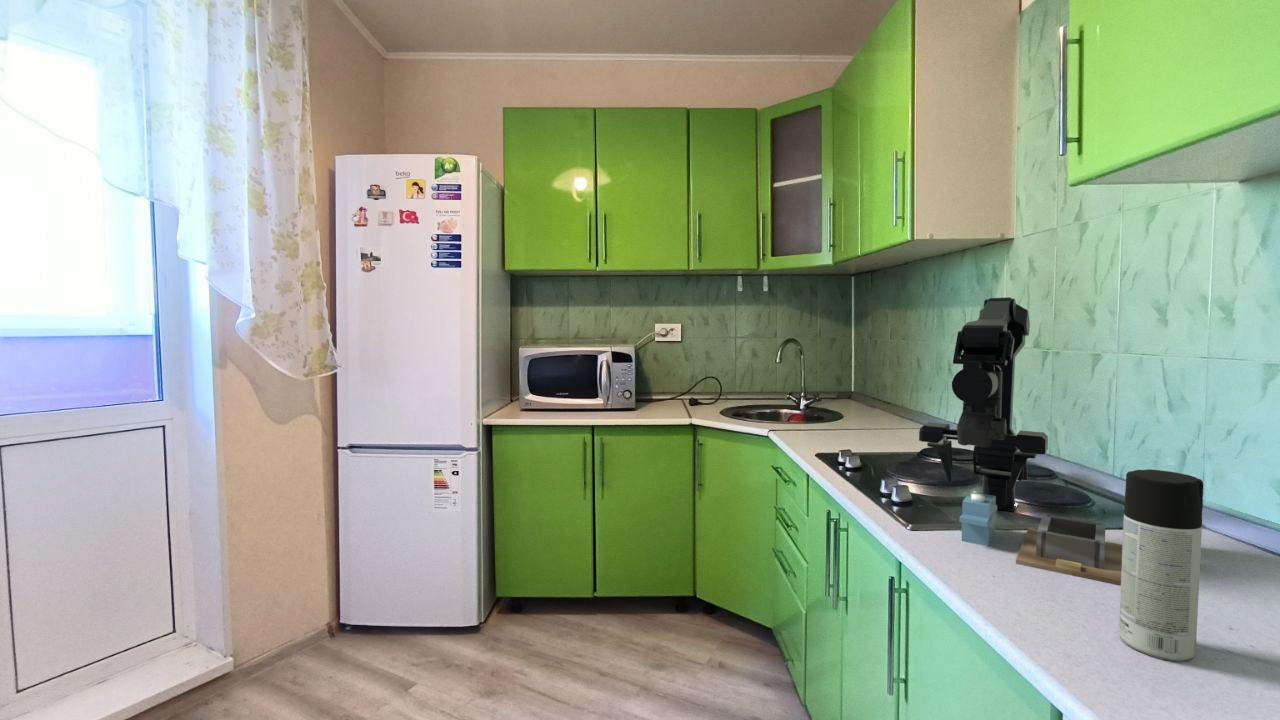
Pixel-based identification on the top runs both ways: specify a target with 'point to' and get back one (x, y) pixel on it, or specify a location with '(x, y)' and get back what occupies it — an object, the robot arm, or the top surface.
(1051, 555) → the pocket board
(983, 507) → the servo block
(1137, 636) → the spray can
